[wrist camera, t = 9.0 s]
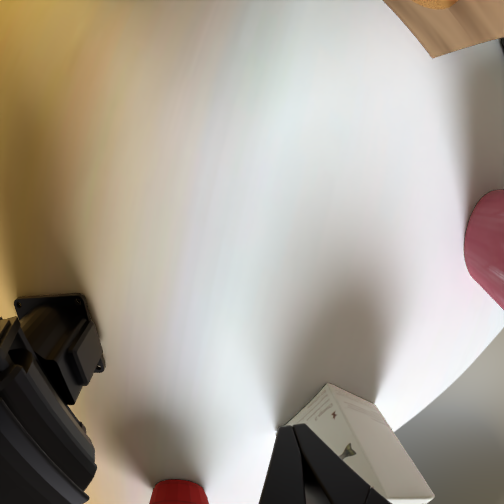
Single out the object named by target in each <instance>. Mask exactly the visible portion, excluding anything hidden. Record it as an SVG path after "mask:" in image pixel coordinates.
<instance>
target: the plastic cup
mask: <svg viewBox="0 0 504 504" xmlns="http://www.w3.org/2000/svg"><path fill="white" fill-rule="evenodd" d="M149 504H209V502H208V499H207V496H206V494H205V492H204V489H203V488H202V487H201V486H199V485H198V484H196V483H193V482H190V481H186V480H179V479H171V480H165V481H161V482H159V483H158V484H156V485H155V488H154V489H153V492H152V496H151V499H150V503H149Z"/></svg>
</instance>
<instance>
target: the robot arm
mask: <svg viewBox="0 0 504 504" xmlns="http://www.w3.org/2000/svg"><path fill="white" fill-rule="evenodd" d="M77 299H79V300H80V301H81V303H79V302H77ZM19 303H21V305H20V304H19ZM14 306H15V309H16V312H17V315H18V317H17V316H15V317H12V318H8V319H2V317H0V504H83V503H85V502H87V501H88V500H89V496H88V495H87V494H86V493H85V492H84V491H85V490H86V488H87V487H88V485H89V484H90V482H91V481H92V479H93V478H94V475H95V472H96V470H97V465H96V464H95V463H94V462H95V449H94V446H93V444H92V442H91V440H90V438H89V437H88V436H87V435H86V428H85V426H84V425H83V424H82V422H79V421H78V419H77V418H76V417H75V415H74V414H73V412H72V411H71V410H70V408H69V407H68V405H74V404H75V402H76V400H77V398H78V395H79V393H80V391H81V389H82V386H87V385H88V384H89V382H90V380H91V377H92V375H93V373H101V372H103V371H104V369H105V362H104V359H103V356H102V353H103V350H102V347H101V343H100V340H99V337H98V334H97V330H96V327H95V324H94V322H93V321H91V317H90V314H89V310H88V306H87V302H86V299H85V297H84V296H83V295H82V294H80V293H72V294H58V295H43V296H28V297H18V298H17V299H16V300H15V301H14ZM18 318H19V319H18ZM97 365H100V366H101V367H98V366H97ZM370 487H371V486H370V485H369V484H368V483H367V482H366V481H365V480H364V479H363V478H361V477H360V476H359V475H358V474H357V473H356V472H355V471H354V470H353V469H352V468H351V467H350V466H348V465H347V464H346V463H345V462H344V461H343V460H342V459H341V458H340V457H339V456H338V455H337V454H336V453H335V452H334V451H333V450H332V449H331V448H330V447H329V446H328V445H327V444H326V443H325V442H323V441H322V440H321V439H320V438H319V437H318V436H317V435H316V434H315V433H314V432H313V431H312V430H311V429H310V428H309V427H308V426H307V425H306V424H305V423H300V424H294V425H292V426H291V425H285V426H280V427H279V428H278V432H277V436H276V440H275V444H274V448H273V452H272V456H271V460H270V464H269V468H268V471H267V475H266V479H265V483H264V486H263V490H262V493H261V497H260V501H259V504H392V503H391V502H389V501H388V500H387V499H386V498H384V497H383V496H382V495H381V494H379V493H378V492H377V491H376V490H375V489H374V488H373V487H371V488H370Z"/></svg>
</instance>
